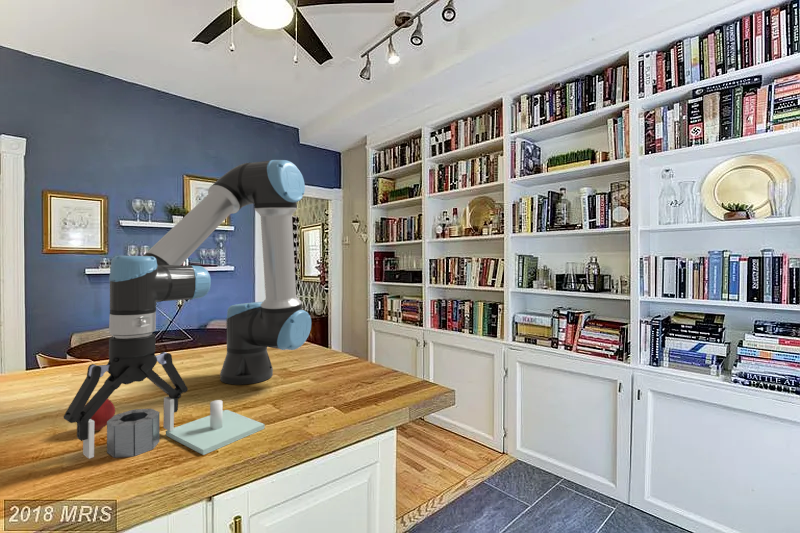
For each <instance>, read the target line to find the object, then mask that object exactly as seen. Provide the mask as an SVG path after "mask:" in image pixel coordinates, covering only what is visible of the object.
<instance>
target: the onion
mask: <svg viewBox="0 0 800 533" xmlns="http://www.w3.org/2000/svg"><path fill="white" fill-rule="evenodd" d="M115 413H116V408H115V405H114V403H113V402H112V401H111V400H110V399H109V398H108V399H107V400H106V401H105V402H104V403H103V404H102V406H101V407H100V408H99V409H98V410H97V412H96V413H95V414H94V415H93V416H92V417H91V419H92V420H93V421H94V432H98V431H99V432H100V431H101V430H102V429H103V428H105V427H107V421H108V420H109V419H111V418H112V417H113V416H114V415H116V414H115Z"/></svg>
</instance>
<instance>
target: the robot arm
mask: <svg viewBox="0 0 800 533" xmlns="http://www.w3.org/2000/svg"><path fill="white" fill-rule="evenodd" d="M305 185H306V184H305V179H304V176H303V174H302V172H301V171H300V170H299V168H298V167H297V166H296V164H294V163H293V162H292V161H290V160H286V159H271V160H262V161H253V162H244V163H242V164H238V165H237V166H235V167H233V168H231V169H230V170H229V171H227V172H226V173H224V175H222V176H221V177H219V178H218V179H217V181H215V182H214V183H213V184H211V186H209V187H208V189H207V195H206V196H205V197H204V198H203V199H202V200H201V201H200V202H198V204H196V205H195V206H194V207H192V208H191V210H190V211H189V212H187V214H186V215H184V217H183V218H182V219H180V220H179V221H178V222H177V223H176V224H175V225H174V226H173V227H172V228H170V230H169V231H168V232H166V233H165V234H164V235H163V236H162V238H160V239H159V240H158V241H157V242H156V243H155V244H154V245H152V246H151V248H149V249H148V251H146V252H145V253H144V254H143V255H116V256H114V257H113V258H112V259H111V262H110V268H109V277H108V282H109V320H108V322H109V324H108V326H109V327H108V332H109V333H108V334H110V335H111V336H110V338H109V339H108V362H107V364H101V365H100V364H99V365H98V364H95V363H93V364H90V365H89V366H88V367H87V373H86V377H85V379H84V381H83V383H82V384H81V385H80V387H79V389H78V391H77V392H76V394H75V396H74V398H73V400H72V401H71V403H70V405H69V406H68V407H67V409H66V410H65V413H64V415H63V419H64V420H65V421H67V422H68V423H70V424H74V423H76V438H77V439H78V440H79V441H81V442H82V455H84V456H85V457H86V458H87V459H88V460H89V459H92V458H95V430H94V421H93V420H92V419H91V417H92V416H93V415H94V414H95V413H96V412H97V410H98V409H99V408H100V407H101V406H102V404H103V403H104V402H105V401H106V400H107V399H109V397H110V396H111V395H112V394H113V393H114V392H115V390H118V389H119V387H120V386H121V385H130V384H133V383H135V382H137V383H139V382H143V381H144V380H146V379H147V380H149V381H150V382H152V383H153V384H154V385H155V386H156V387H158V389H160V390H162V391H163V392H164V393H165V394H166V395H168V396H165V397H163V429H165V430H169V431H172V430H174V428H175V427H174V425H175V413H177V412H178V410H179V399H180V398H181V397H182V394H183V393H184V394H185V393H187V392H188V390H189V389H188V386H187V384H186V383H185V382H184V380H183V378H182V377H181V375H180V372H178V369H177V368H176V367H175V365H174V363H173V357H172V356H173V355H172V354H171V353H169V352H165V351H162V352H160V354H158V355H156V335H155V333H153V332H155V331H156V329H157V328H156V326H157V324H156V321H157V320H156V318H157V317H156V316H157V315H156V314H157V303H161V302H168V301H169V302H171V301H183V300H190V301H191V300H192V301H193V300H194V299H200V298H203V297H205V296H207V295H208V292H210V289H211V285H212V284H211V281H212V278H211V275H210V272H209V271H208V270H207V269H206V268H205V267H203V266H202V265H192V264H188V265H187V264H186V265H183V264H184V262H185V261H187V260H188V259H189V257H190V256H192V254H193V253H195V251H196V250H198V248H199V247H200V246H201V245H202V244H203V243H204V242H205V241H206V240H207V239H208V238H209V237H210V235H211V234H213V232H215V231H216V230H217V228H219V226H220V225H221V224H222V223H223V222H224V221H225V220H226V219H227V218H228V217H229V216H230V215H231V214H236V213H238V212H239V211H240V210H241V209H242V208H244V207H246V206H249V205H253V208H254V210H255V212H256V213H257V214H258V215H259V216H260V226H261V227H260V228H261V244H262V245H261V246H262V258H263V259H262V260H263V275H264V277H263V278H264V291H265V292H264V293H265V299H264V300H263V301H254V302H253V301H252V302H246V303H237V304H233V305H230V306H229V307H228V308H227V313H226V318H225V319H226V356H225V359H224V361H223V364H222V367H221V370H220V373H219V376H220V378H219V380H220V382H222V383H225V384H228V385H251V384H257V383H261V382H264V381H266V380H269V379H271V378H272V377H273V374H274V373H273V372H274V369H273V365H272V362H271V359H270V356H269V352H268V348H273V349H277V350H280V351H286V350H289V351H295V350H298V349H300V348H301V347H302V346H303V345H304V344H305V342H307V339H308V338H309V336H310V332H311V330H312V318H311V314H309V312H308V311H305V310H304V309H303V301H302V299H301V300H300V299H299V298H298V296H297V284H296V267H295V266H296V265H295V249H294V248H295V247H294V229H293V228H294V227H293V214H294V213H295V212H296V211H297V210H298V202H299V201H301V200H303V198H304V197H303V196H304V195H305V192H306V187H305ZM157 363H158V364H159V365H160V366H162V369H163V370H164V371H165V373H166V375H167V376H168V378H169V380H170V381H171V383H172V385H173V386H174V387H173V386H172V385H170V384H169V383H168V382H166V380H164V379H163V378H162V377H161V376H160V375H159V374H158V373H157V372H156V371H155V370H153V369H154V367H155V366H156V365H157ZM106 372H107V373H108V374H109V375H108V377H107V378H106V380H104V382H103V385H102V386H101V387H100V388H99V389H98V391H97V392H95V394H94V395H93V396H92V394H93V393H94V391H95V389H96V387H97V385H98V383H99V382H100V379H101V377H102V378H103V376H104V374H105V373H106ZM91 396H92V397H91ZM89 399H90V400H89Z"/></svg>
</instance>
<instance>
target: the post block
mask: <svg viewBox="0 0 800 533" xmlns="http://www.w3.org/2000/svg"><path fill="white" fill-rule="evenodd" d="M209 405H210V406H209V407H210V408H209V409H210V411H209V415H207V416H205V417H204V416H203V417H201V418H198V419H196V420H193V421H190V422H186V423H183V424H182V425H179V426H175V427H174V430H172V431H169V430H167V429H165V436H166V437H169V438H170V439H171V440H174V441H175V442H178V443H180V444H181V445H184V446H185V447H187V448H189V449H191V450H193V451H195V452H196V453H199V454H200V455H203V456H206V455H207V454H209V453H211V452H214V451H216V450H219V449H220V448H223V447H225V446H228V445H230V444H232V443H235V442H236V441H239V440H242V439H244V438H246V437H248V436H250V435H253V434H255V433H258V432H260V431H262V430H264V429H265V425H266V424H265V423H262V422H260V421H257V420H255V419H253V418H249V417H247V416H244V415H242V414H240V413H237V412H234V411H232V410H229V409H224V410H223V400H221V399H215V400H212V401H210V403H209Z"/></svg>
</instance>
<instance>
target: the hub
mask: <svg viewBox="0 0 800 533" xmlns="http://www.w3.org/2000/svg"><path fill="white" fill-rule="evenodd" d="M159 443H160V411H158V410H156V409H154V408H139V409H138V408H136V409H135V408H134V409H131V410H127V411H123V412H120V413H117V414H114V416H113V417H112V418H111V419H109V420H108V421H107V425H106V454H108V455H110V456H111V457H112V458H115V459H118V458H129V457H132V458H133V457H136V456H140V455H141V454H144V453H147V452H149V451H152V450H154V449H155V447H156V446H157V445H158V444H159Z"/></svg>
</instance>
